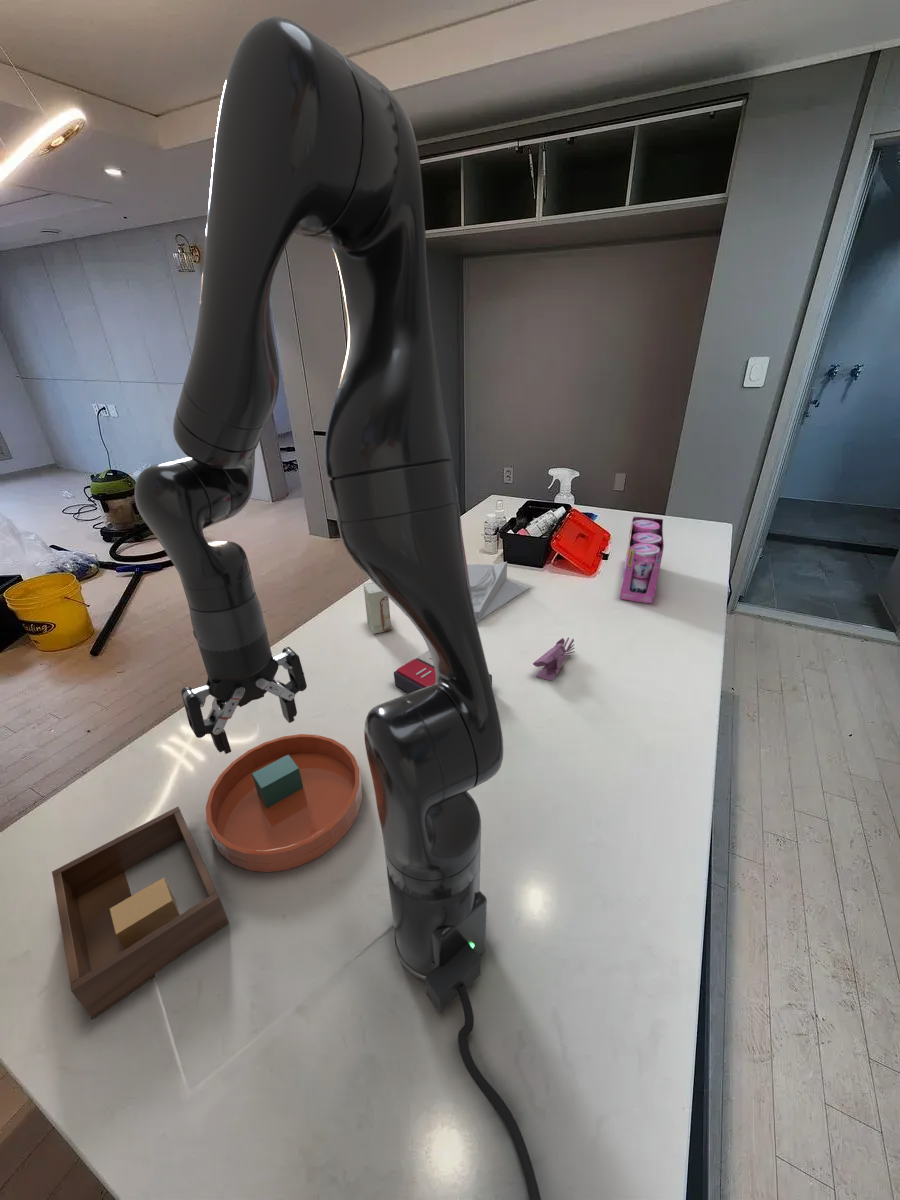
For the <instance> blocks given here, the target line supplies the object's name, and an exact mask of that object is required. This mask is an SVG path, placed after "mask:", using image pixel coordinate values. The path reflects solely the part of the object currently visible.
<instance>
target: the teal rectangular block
mask: <svg viewBox="0 0 900 1200" xmlns="http://www.w3.org/2000/svg"><path fill="white" fill-rule="evenodd" d="M252 776H253V780H254V783H255V787H256V790H257V793H258V795H259V796H260V798H261V800H262V801H263V803H264V804H265V806H266V808H269V807H270V806H272V805H274V804H276V803H277V802H279V801H281V800H283V799H284V798H286V797H288V796H290V795H291V794H293V793H295V792H297V791H298V790H300V789H302V788H303V784H302V779H301V775H300V771H299V768H298V766H297V765H296V764H295V762H294V761H293V760H292V758H291V757H290V756H289V755H286V756H285V757H283V758H281V759H279V760H277V761H275V762H273V763H271V764H269V765H267V766H265V767H264V768H262V769H260V770H258V771H256V772H254V773H252Z"/></svg>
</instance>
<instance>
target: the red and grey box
mask: <svg viewBox="0 0 900 1200" xmlns="http://www.w3.org/2000/svg"><path fill="white" fill-rule="evenodd" d="M489 676H490V680H491V684H492V685H493V674H491V673H489ZM393 677H394V678H393V680H394V685H395V687H397V688H399V689H401V690H402V691H404V692H406V693H407V694H409V693H412V692H415V691H417V690H420V689H423V688H425V687H428V686H431V685H433V684H435V682H436V674H435V668H434V664H433V660H432V657H431V654H430V651H429V649H428V650H427V651H425V652H423V653H421V654H420V655H418V656H417V657H416V658H414V659H412V660H410V661H408V662H407V663H405V664H403V665H402V666H400V667H398V668H397V669H396V670H394V671H393Z"/></svg>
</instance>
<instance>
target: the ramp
mask: <svg viewBox="0 0 900 1200" xmlns="http://www.w3.org/2000/svg"><path fill="white" fill-rule="evenodd" d="M467 569H468V576H469V583H470V588H471V594H472V600H473V606H474V611H475V616H476V621H477V623H478V622H480V621H481V620H482V619H484V618H486V617H487V616H489V615H490V614H492V613H494V612H495V611H496V610H498V609H499V608H501V607H503V606H504V605H506V604H507V603H509V602H510V601H512V600H514V599H515V598H517V597H518V596H519V595H521V594H523V593H524V592H526V591H527V590H528V589H530V588H531V587H530V586H528V585H525V584H523V583H519V582H516V581H513V580H511V579H508V578H507V576H508V561H504V562H499V563H495V564H481V563H479V564H476V563H475V564H467Z"/></svg>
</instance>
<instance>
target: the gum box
mask: <svg viewBox="0 0 900 1200" xmlns="http://www.w3.org/2000/svg"><path fill="white" fill-rule="evenodd" d="M664 548H665V543H664V519H663V518H654V517H643V516H632V519H631V524H630V529H629V534H628V540H627V545H626V553H625V558H624V564H623V571H622V580H621V586H620V592H619V593H620V594H619V599H620V600H625V601H631V602H639V603H645V604H651V605H652V604H654V600H655V594H656V591H657V590H656V589H657V585H658V579H659V573H660V569H661V565H662V560H663V553H664Z"/></svg>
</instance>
